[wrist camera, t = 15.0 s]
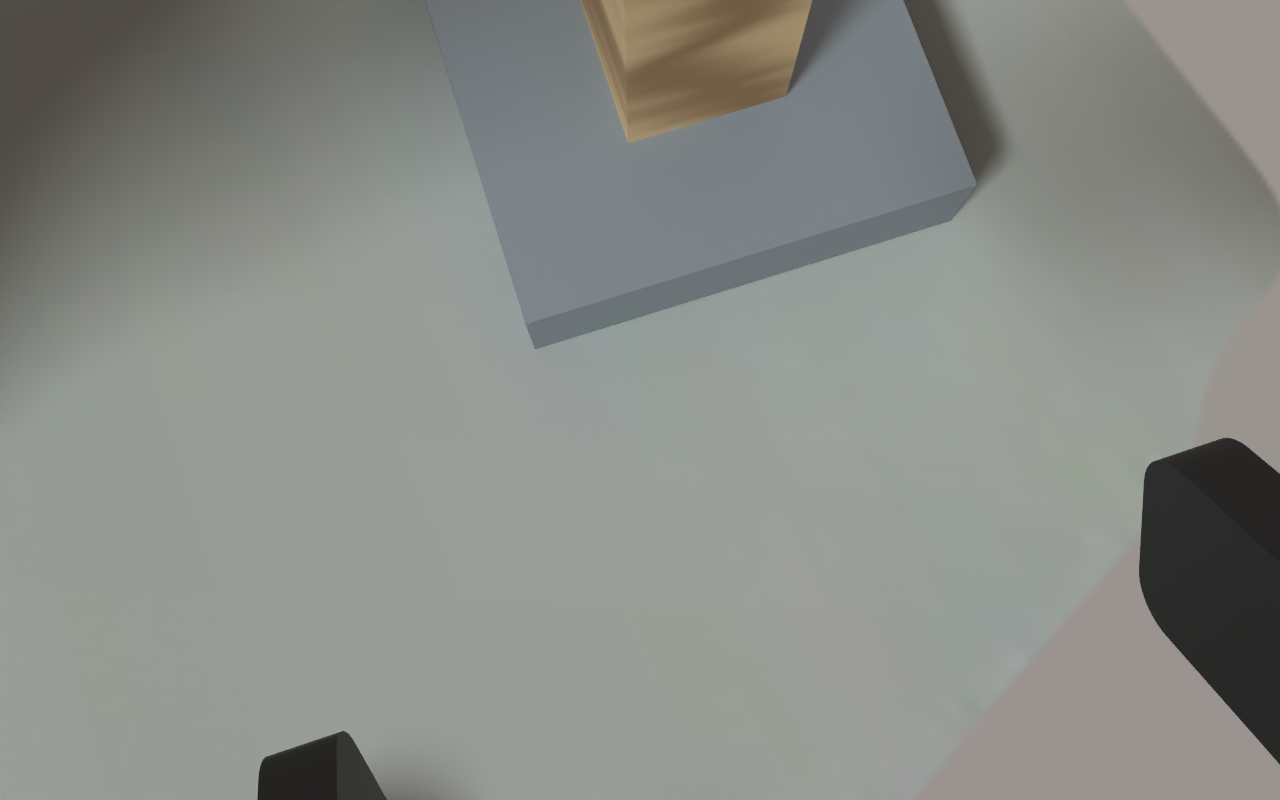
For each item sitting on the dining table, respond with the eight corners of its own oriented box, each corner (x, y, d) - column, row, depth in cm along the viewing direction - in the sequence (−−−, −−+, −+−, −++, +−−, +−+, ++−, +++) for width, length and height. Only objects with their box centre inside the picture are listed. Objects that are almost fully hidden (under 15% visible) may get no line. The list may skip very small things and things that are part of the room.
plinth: (535, 348, 36) (525, 324, 33) (416, -34, 39) (397, -89, 36) (950, 220, 37) (977, 184, 34) (806, -146, 39) (819, -208, 36)
